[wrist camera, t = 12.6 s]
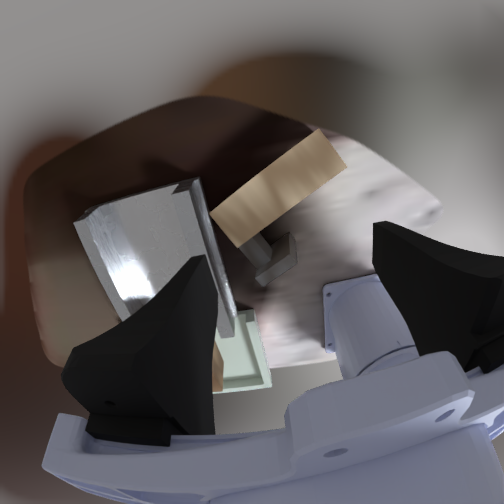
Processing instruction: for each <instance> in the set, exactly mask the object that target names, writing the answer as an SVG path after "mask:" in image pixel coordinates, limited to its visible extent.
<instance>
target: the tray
mask: <svg viewBox="0 0 504 504" xmlns="http://www.w3.org/2000/svg"><path fill="white" fill-rule="evenodd" d="M215 341H216V344H217V346H218V349H219V351H220V354H221V356H222V358H223V361H224V371H223V391H221V392H213V394H214V393H226V392H236V391H245V390H253V389H261V388H268V387H272V379H271V373H270V369H269V365H268V361H267V358H266V354H265V350H264V346H263V342H262V338H261V334H260V330H259V327H258V323H257V319H256V315H255V311H254V309H250V310H244V311H238V317H235V337H231V338H224V339H221V338H220V335H219V333H218V330H217V327H216V334H215Z"/></svg>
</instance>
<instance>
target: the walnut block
mask: <svg viewBox="0 0 504 504" xmlns="http://www.w3.org/2000/svg"><path fill="white" fill-rule="evenodd" d="M223 371H224V361H223V358H222V356H221V354H220V351H219V349H218V346H217V344H216V341H214V349H213V359H212V390H213V392H221V391H223Z"/></svg>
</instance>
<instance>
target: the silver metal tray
mask: <svg viewBox="0 0 504 504" xmlns="http://www.w3.org/2000/svg"><path fill="white" fill-rule="evenodd" d="M209 213H210V211H209V207H208V203H207V200H206V196H205V192H204V188H203V184H202V181H201V177H195V178H191V179H187V180H183V181H179V182H175V183H171V184H167V185H163V186H160V187H156V188H152V189H149V190H145V191H142V192H138V193H135V194H131V195H128V196H124V197H121V198H118V199H115V200H111V201H108V202H105V203H102V204H99V205H96V206H93V207H90V208H88V209H87V210H86V211H85V213H84V214H83V215H82V216H81V217H79V218H78V219H77V220H76V221H75V222H74V225H75V228H76V230H77V233H78V235H79V237H80V240H81V242H82V244H83V246H84V249H85V251H86V253H87V255H88V257H89V259H90V261H91V264H92V266H93V268H94V270H95V272H96V274H97V276H98V278H99V280H100V282H101V284H102V286H103V288H104V289H105V291H106V293H107V295H108V297H109V299H110V301H111V302H112V304H113V306H114V308H115V310H116V311H117V313H118V315H119V317H120V318H121V320H122V322H123V321H124V320H125V319H127V318H128V317H130V316H131V315H132V314H134V313H135V312H137V311H138V310H139V309H140V308H141V307H143V306H144V305H145V304H146V303H147V302H148V301H150V300H151V299H152V298H153V297H154V296H155V295H156V294H157V293H158V292H159V291H160V290H161V289H162V288H163V287H164V286H165V285H166V284H167V283H168V282H169V281H170V280H171V278H172V277H173V276H174V275H175V274H176V273H177V272H178V271H179V270H180V268H181V267H182V266H183V265H184V264H185V263H186V262H187V261H188V260H189V259H190V258H191V257H193V256H198V255H203V254H206V257H207V261H208V264H209V267H210V270H211V273H212V276H213V279H214V282H215V285H216V288H217V291H218V318H217V326H216V327H217V330H218V333H219V335H220V338H221V339H224V338H231V337H235V317H238V309H237V306H236V302H235V299H234V296H233V292H232V289H231V285H230V282H229V278H228V275H227V272H226V268H225V265H224V261H223V258H222V254H221V251H220V247H219V243H218V240H217V236H216V233H215V229H214V225H213V222H212V218H211V216H210V215H209Z"/></svg>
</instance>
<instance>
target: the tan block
mask: <svg viewBox="0 0 504 504" xmlns="http://www.w3.org/2000/svg"><path fill="white" fill-rule="evenodd" d="M345 168H347V166H346V164H345V163H344V161H343V160H342V159H341V157H340V156H339V155H338V153H337V152H336V150H335V149H334V148H333V146H332V145H331V144H330V142H329V141H328V140H327V139H326V137H325V136H324V135H323V133H322V132H321V131H320V129H317V130H316V131H315V132H313V133H312V134H310V135H309V136H308V137H306V138H305V139H304V140H302V141H301V142H299V143H298V144H297V145H295V146H294V147H293V148H291V149H290V150H289V151H287V152H286V153H285V154H283V155H282V156H281V157H279V158H278V159H277V160H275V161H274V162H273V163H272V164H270V165H269V166H268V167H266V168H265V169H264V170H262V171H261V172H260V173H259V174H257V175H256V176H255V177H253V178H252V179H251V180H250V181H248V182H247V183H246V184H245V185H243V186H242V187H241V188H240V189H238V190H237V191H236V192H235V193H233V194H232V195H231V196H230V197H228V198H227V199H226V200H225V201H223V202H222V203H221V204H220V205H219V206H217V207H216V208H215V209H214V210H212V211H211V212H210V213H209V215H210V216H211V217H212V218H213V219H214V221H215V222H216V223H217V224H218V225H219V227H220V228H221V229H222V230H223V232H224V233H225V234H226V235H227V236H228V238H229V239H230V240H231V241H232V242H233V244H234V245H235V246H236V247H237V248H238V247H239V249H240V250H241V251H242V252H243V253H244V255H245V256H246V257H247V258H248V259H249V261H250V262H251V263H252V264H253V265H254V267H255V268H256V269H257V272H256V276H255V279H256V280H257V281H258V282H259V283H260V285H261V286H262V287H263V286H265V285H266V284H268V283H269V282H271V281H272V280H274V279H275V278H277V277H278V276H280V275H281V274H283V273H284V272H286V271H287V270H289V269H290V268H292V267H293V266H294V265H296V264H297V254H296V244H295V239H294V238H293V236H292V235H291V234H290V233H287V234H286V235H285V236H283V237H282V238H280V239H279V240H278V241H276V242H275V243H273V244H272V245H271V246H270V245H269V244H268V243H267V242H266V240H265V239H264V238H263V237H262V235H261V234H260V233H259V232H260V231H261V230H262V229H264V228H265V227H266V226H268V225H269V224H270V223H272V222H273V221H274V220H276V219H277V218H279V217H280V216H281V215H283V214H284V213H285V212H287V211H288V210H289V209H291V208H292V207H293V206H295V205H296V204H297V203H299V202H300V201H302V200H303V199H304V198H306V197H307V196H308V195H310V194H311V193H312V192H314V191H315V190H317V189H318V188H319V187H321V186H322V185H323V184H325V183H326V182H328V181H329V180H330V179H332V178H333V177H334V176H336V175H337V174H338V173H340V172H341V171H343V170H344V169H345Z"/></svg>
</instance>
